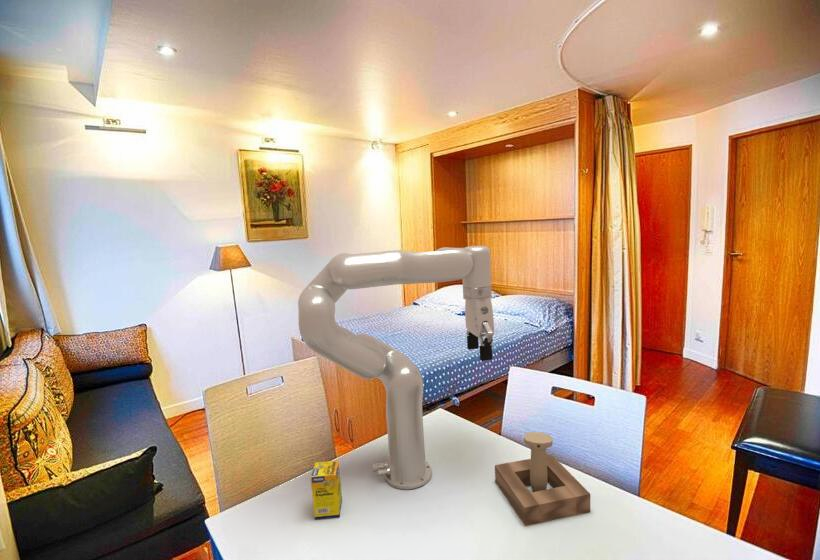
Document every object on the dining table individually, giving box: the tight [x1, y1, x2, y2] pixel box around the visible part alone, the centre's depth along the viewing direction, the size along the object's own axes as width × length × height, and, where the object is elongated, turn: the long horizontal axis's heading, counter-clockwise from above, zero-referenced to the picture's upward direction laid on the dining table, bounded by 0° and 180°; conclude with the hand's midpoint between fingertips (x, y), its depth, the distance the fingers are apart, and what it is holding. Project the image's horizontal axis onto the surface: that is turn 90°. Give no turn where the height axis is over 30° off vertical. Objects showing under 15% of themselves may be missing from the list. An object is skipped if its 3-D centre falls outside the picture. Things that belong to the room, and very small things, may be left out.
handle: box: [523, 431, 554, 493], centre depth 97 cm, size 5×6×15 cm
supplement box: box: [310, 460, 343, 521], centre depth 96 cm, size 6×6×11 cm
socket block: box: [494, 454, 591, 527], centre depth 97 cm, size 16×16×4 cm
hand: (479, 354), depth 110 cm, fingers open, 9 cm apart
